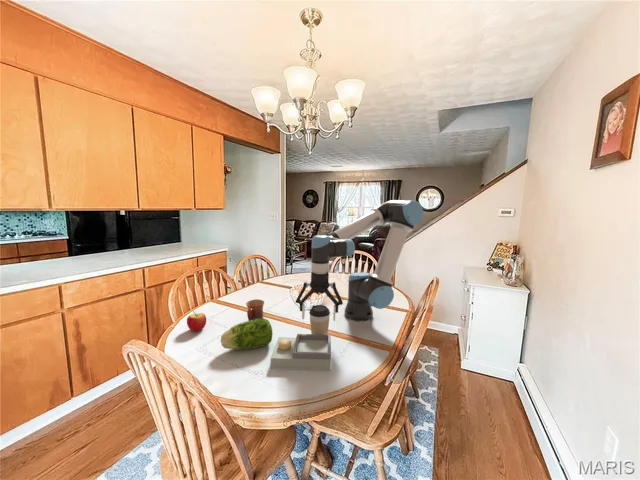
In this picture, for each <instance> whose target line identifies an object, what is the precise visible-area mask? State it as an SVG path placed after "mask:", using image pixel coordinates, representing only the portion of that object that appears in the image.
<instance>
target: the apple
mask: <svg viewBox="0 0 640 480" xmlns="http://www.w3.org/2000/svg"><path fill="white" fill-rule="evenodd" d="M192 312H193V314H190V315H188V316H187V319H186V324H187V327H188V328H189V330H190V331H192V332H199V331H202V330H203V329H204V328H205V326H206V324H207V316H206V314H205V313H201V312H200V313H198V312H197V313H196V312H195V311H192Z"/></svg>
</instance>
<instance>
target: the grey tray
mask: <svg viewBox="0 0 640 480" xmlns="http://www.w3.org/2000/svg"><path fill="white" fill-rule="evenodd" d="M331 354H332V335H331V334H327V335H321V334H311V333H307V334H306V333H297V334H296V337H291V336H289V337H286V336H285V337H284V336H283V337H282V336H279V337H277V339H276V342H275V346H274V348H273V350H272V353H271V357H270V369H280V370H282V369H286V370H287V369H288V370H308V371H309V370H310V371H311V370H314V371H332V370H331V367H332V360H331V359H332V355H331Z"/></svg>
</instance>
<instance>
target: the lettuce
mask: <svg viewBox="0 0 640 480" xmlns="http://www.w3.org/2000/svg"><path fill="white" fill-rule="evenodd" d="M273 332H274V331H273V328H272V324H271V323H270V320H269V319H267V318H264V317H263V318H260V319H254V320H251V321H248V320H247V321H243V322H240V323H237V324H234V325H233V326H231V327H230V328H229V329H228V330H225V332H224V333H223V334H222V335H221V336H220V345H221V347H223V348H224V349H228V350H229V349H230V350H237V351H240V350H249V349H255V348H260V347H264V346H268V345H270V343H271V342H272V339H273V334H274V333H273Z"/></svg>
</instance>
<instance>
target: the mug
mask: <svg viewBox="0 0 640 480" xmlns="http://www.w3.org/2000/svg"><path fill="white" fill-rule="evenodd" d="M264 305H265V301H264V300H263V299H256V298H255V299H252V300H251V299H250V300H248V301H246V303H245V306H246V308H247V311H246V312H247V313H246V315H247V319H248V320H247V321H251V320H254V319H260V318H264Z"/></svg>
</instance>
